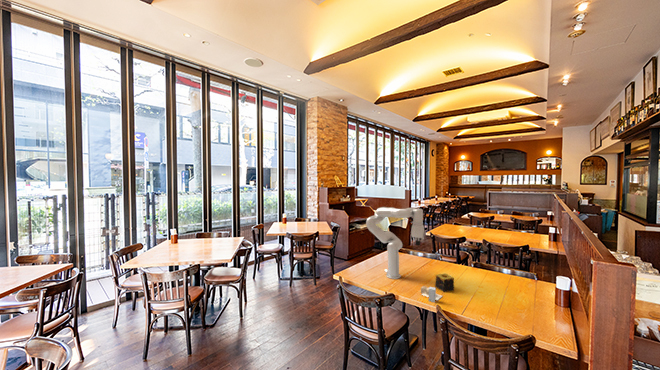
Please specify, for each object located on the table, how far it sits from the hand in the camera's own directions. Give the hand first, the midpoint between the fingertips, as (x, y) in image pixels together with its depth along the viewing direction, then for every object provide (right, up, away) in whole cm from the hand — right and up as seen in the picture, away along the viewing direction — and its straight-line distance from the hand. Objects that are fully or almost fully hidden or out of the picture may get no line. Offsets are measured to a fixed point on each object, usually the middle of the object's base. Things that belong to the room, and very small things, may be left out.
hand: (417, 245), depth 216 cm
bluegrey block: (0, -32, -31) cm, 45 cm away
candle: (+17, -32, -12) cm, 38 cm away
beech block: (-3, -29, -19) cm, 35 cm away
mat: (+2, -32, -24) cm, 40 cm away
